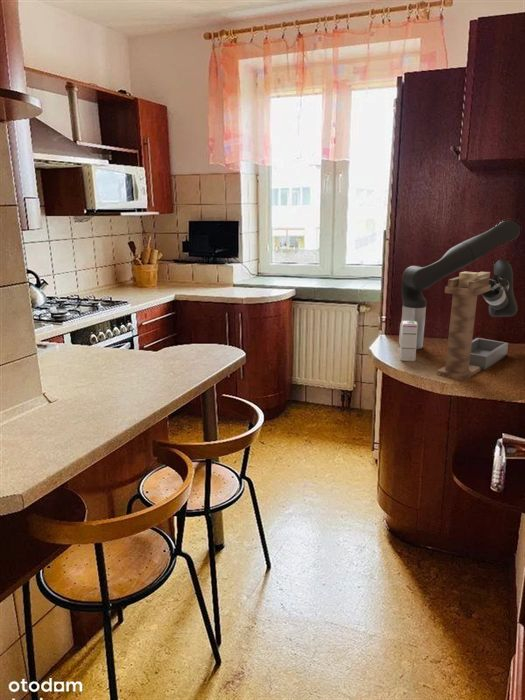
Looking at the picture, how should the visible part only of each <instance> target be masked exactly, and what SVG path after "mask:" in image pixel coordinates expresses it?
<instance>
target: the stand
mask: <svg viewBox="0 0 525 700" xmlns="http://www.w3.org/2000/svg"><path fill="white" fill-rule="evenodd" d="M489 279H490V277H482V278H479V279H476V280H473V281H470V282H469V286H468V287H460V286H458V283H459V276H457V277H453V278H450V279H448V282H447V286H444V293H445V294H452V299H451V310H450V318H449V319H450V320H449V327H448V337H447V338H448V339H447V340H448V341H447V347H446V358H445V365H444V366H442V367H441V368H439V369H437V370H436V375H437V374H440V375H439V376H441V375H444V376H443V377H446V376H449V377H448V378H450V377H452V379H455V378H457V379H456V380H459V379H461V380H460V381H463V380H466V381H468V380H469V379H470V378H472V377H473V376H474V374H475V375H476V374H477V372H478V373H479V372H481V370H482V369H481V367H479V366H474V365H470V364H469V363H470V355H471V346H472V340H473V335H474V328H475V320H476V319H475V318H476V312H477V311H476V309H477V300H478V296H481V294H483V293H485V292H488V291H490V288H491V285H488V284H489ZM471 376H472V377H471ZM468 378H469V379H468Z"/></svg>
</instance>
